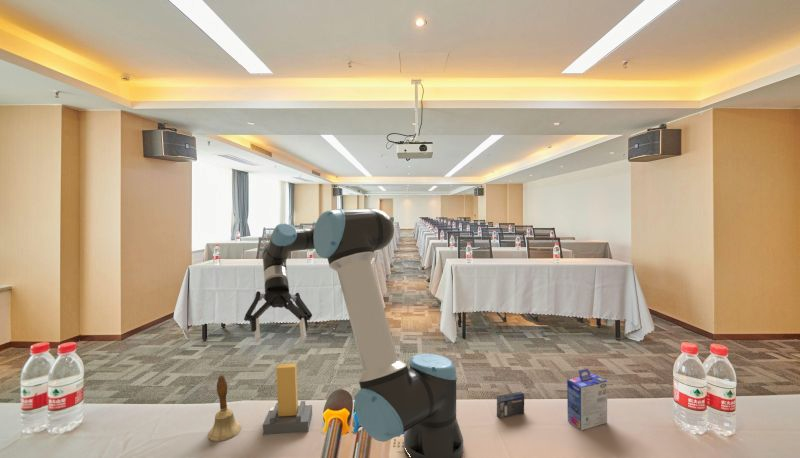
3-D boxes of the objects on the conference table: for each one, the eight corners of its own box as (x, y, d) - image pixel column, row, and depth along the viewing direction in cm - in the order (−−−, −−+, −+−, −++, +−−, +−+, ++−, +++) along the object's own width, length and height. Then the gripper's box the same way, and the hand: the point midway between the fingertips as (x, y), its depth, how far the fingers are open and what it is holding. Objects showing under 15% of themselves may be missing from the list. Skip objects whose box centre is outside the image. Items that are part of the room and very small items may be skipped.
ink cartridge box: (591, 412, 106) (592, 364, 105) (608, 423, 100) (609, 373, 99) (565, 419, 102) (566, 370, 101) (581, 431, 97) (582, 379, 96)
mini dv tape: (499, 418, 103) (499, 398, 103) (496, 415, 105) (496, 396, 104) (524, 413, 106) (524, 394, 105) (521, 410, 107) (521, 391, 107)
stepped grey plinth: (312, 414, 106) (311, 400, 106) (308, 431, 98) (307, 416, 98) (270, 417, 105) (270, 402, 105) (263, 435, 97) (262, 419, 97)
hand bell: (228, 443, 94) (225, 384, 93) (201, 439, 96) (197, 382, 95) (247, 424, 102) (245, 370, 101) (222, 421, 104) (219, 367, 103)
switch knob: (298, 410, 103) (296, 363, 102) (296, 415, 101) (294, 366, 100) (280, 411, 103) (278, 364, 101) (278, 416, 100) (276, 368, 99)
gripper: (309, 290, 129) (317, 344, 115) (233, 287, 116) (233, 348, 102) (315, 277, 125) (325, 331, 111) (238, 273, 112) (238, 334, 98)
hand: (281, 339), depth 106 cm, fingers open, 13 cm apart
